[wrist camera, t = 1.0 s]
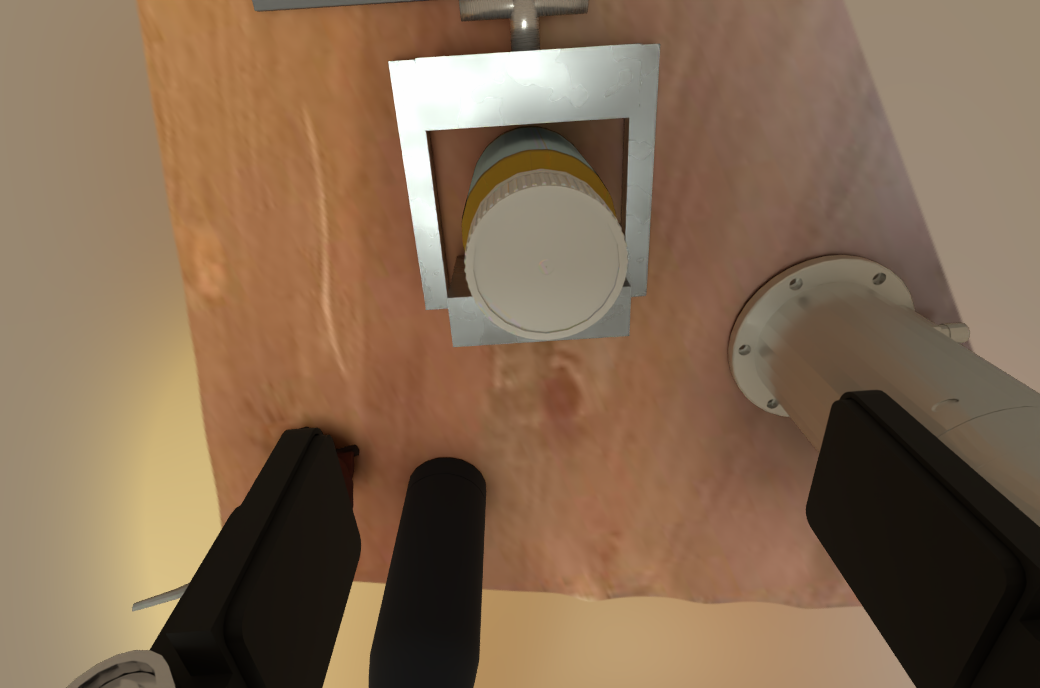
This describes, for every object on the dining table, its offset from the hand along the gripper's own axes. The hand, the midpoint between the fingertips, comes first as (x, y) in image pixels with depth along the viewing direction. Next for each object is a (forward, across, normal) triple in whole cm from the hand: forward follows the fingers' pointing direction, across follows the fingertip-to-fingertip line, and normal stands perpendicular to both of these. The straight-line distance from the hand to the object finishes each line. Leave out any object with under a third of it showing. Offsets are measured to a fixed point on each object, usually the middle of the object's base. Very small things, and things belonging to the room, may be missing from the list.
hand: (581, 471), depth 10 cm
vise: (+26, 0, -1) cm, 26 cm away
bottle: (+26, 0, 0) cm, 26 cm away
